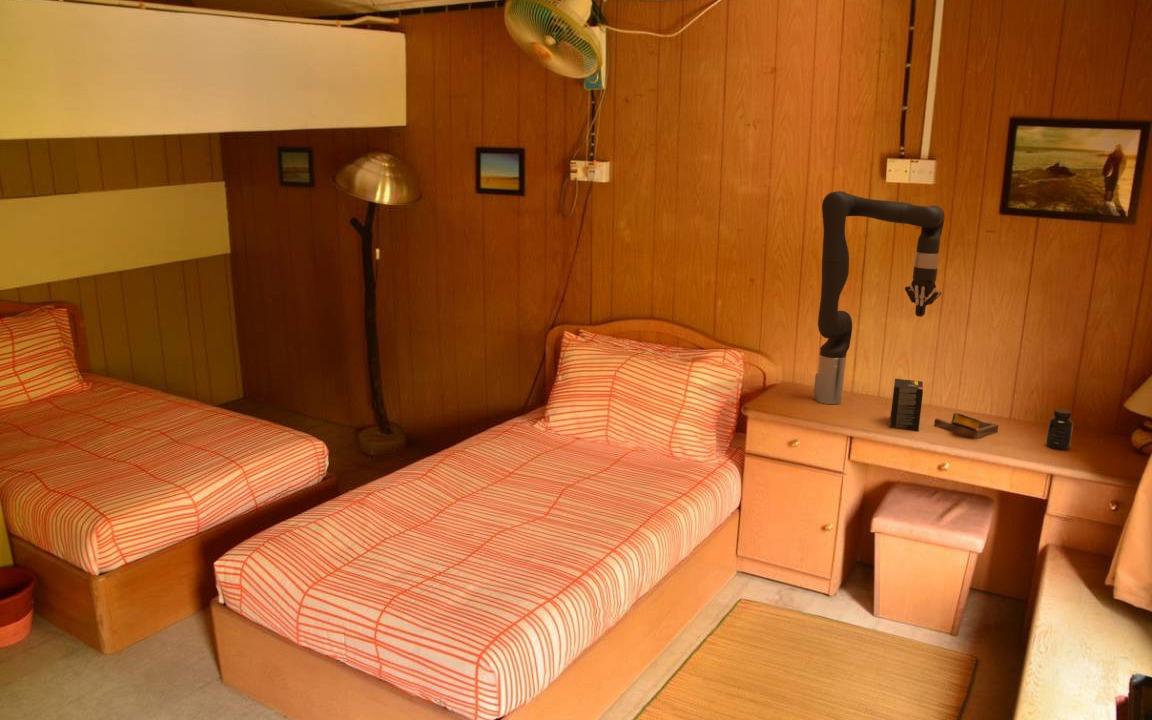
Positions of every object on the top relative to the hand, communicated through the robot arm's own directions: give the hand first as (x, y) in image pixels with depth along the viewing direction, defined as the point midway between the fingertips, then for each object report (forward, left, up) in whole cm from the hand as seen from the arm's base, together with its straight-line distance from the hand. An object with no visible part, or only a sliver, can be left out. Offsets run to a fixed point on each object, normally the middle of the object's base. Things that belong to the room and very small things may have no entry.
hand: (919, 316), depth 313 cm
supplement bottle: (+47, +11, -35) cm, 60 cm away
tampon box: (+7, -12, -35) cm, 38 cm away
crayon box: (+20, +1, -33) cm, 39 cm away
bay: (+20, +2, -35) cm, 40 cm away
